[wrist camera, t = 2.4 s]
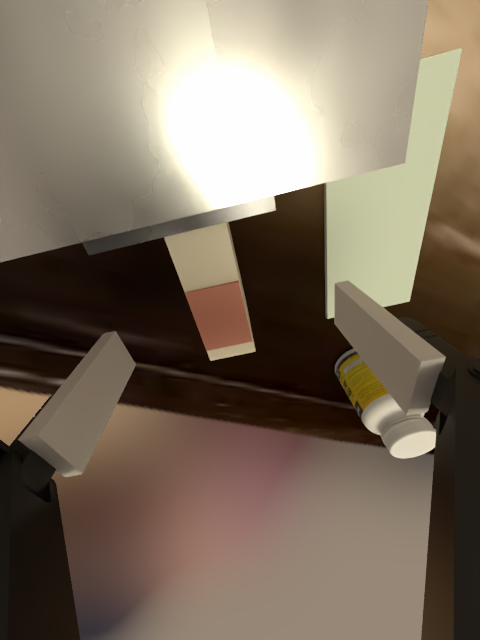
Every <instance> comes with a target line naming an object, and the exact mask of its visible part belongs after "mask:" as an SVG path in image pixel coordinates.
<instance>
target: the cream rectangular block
mask: <svg viewBox="0 0 480 640" xmlns="http://www.w3.org/2000/svg"><path fill="white" fill-rule="evenodd" d="M164 239H165V242H166V244H167V247H168V249H169V252H170V255H171V257H172V260H173V263H174V265H175V268H176V271H177V273H178V276H179V279H180V281H181V284H182V287H183V289H184V292H185V295H186V298H187V300H188V303H189V306H190V308H191V311H192V314H193V316H194V319H195V322H196V324H197V327H198V329H199V332H200V335H201V337H202V340H203V343H204V345H205V348H206V351H207V353H208V356H209V358H210V361H212V360H217V359H222V358H226V357H231V356H236V355H241V354H246V353H251V352H255V345H254V340H253V335H252V330H251V325H250V320H249V314H248V309H247V304H246V299H245V294H244V290H243V285H242V281H241V276H240V272H239V267H238V263H237V258H236V254H235V250H234V245H233V241H232V236H231V232H230V227H229V223H228V222H225V223H221V224H217V225H213V226H208V227H204V228H200V229H196V230H192V231H188V232H183V233H179V234H175V235H171V236H167V237H164Z"/></svg>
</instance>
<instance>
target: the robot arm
mask: <svg viewBox="0 0 480 640" xmlns="http://www.w3.org/2000/svg"><path fill="white" fill-rule="evenodd" d="M335 325H336V326H337V327H338V329H339V330H340V331H341V332H342V334H343V335H344V336H345V338H346V339H347V340H348V341H349V343H350V344H351V345H352V347H353V348H354V349H355V350H356V352H357V353H358V354H359V355H360V357H361V358H362V359H363V361H364V362H365V363H366V364H367V366H368V367H369V368H370V370H371V371H372V372H373V373H374V375H375V376H376V377H377V378H378V380H379V381H380V382H381V384H382V385H383V386H384V387H385V389H386V390H387V391H388V393H389V394H390V395H391V396H392V398H393V399H394V400H395V401H396V403H397V404H398V405H399V407H400V408H401V409H402V410H403V412H404V413H405V414H406V416H408V415H414V414H419V413H425V412H428V409H429V406H430V403H431V402H432V403H433V404H434V405H435V406H436V407H437V408H438V409H439V413H438V415H437V418H436V421H435V423H434V426H433V428H434V429H436V442H435V456H434V471H433V485H432V498H431V512H430V526H429V540H428V553H427V568H426V582H425V595H424V597H425V598H424V610H423V624H422V637H421V640H480V359H477V358H468V357H467V356H465V355H464V354H463V353H461V352H460V351H458V350H457V349H456V348H454V347H453V346H451V345H450V344H449V343H447V342H446V341H445V340H443V339H442V338H440V337H439V336H436V334H435V333H433V332H432V331H431V330H428V328H426V327H425V326H424V325H422V324H421V323H419V322H417V321H415V320H412V319H410V318H407V317H403V318H398V319H397V318H396V317H394V316H393V315H392V314H390V313H389V312H388V311H387V310H385V309H384V308H383V307H382V306H380V305H379V304H378V303H376V302H375V301H374V300H373V299H371V298H370V297H369V296H368V295H366V294H365V293H364V292H362V291H361V290H360V289H359V288H357V287H356V286H355V285H354V284H352V283H351V282H350V281H348V280H347V281H343V282H338V283H335ZM135 365H136V364H135V362H134V361H133V359H132V357H131V356H130V354H129V352H128V351H127V349H126V347H125V346H124V344H123V342H122V341H121V339H120V338H119V336H118V334H117V333H116V331H113V332H108V333H104V334H103V335H102V336H101V337H100V339H99V340H98V341H97V342H96V343H95V345H94V346H93V347H92V348H91V350H90V351H89V352H88V353H87V355H86V356H85V357H84V358H83V360H82V361H81V362H80V363H79V365H78V366H77V367H76V368H75V369H74V371H73V372H72V373H71V374H70V376H69V377H68V378H67V379H66V381H65V382H64V383H63V384H62V386H61V387H60V388H59V389H58V391H56V392H55V393H54V394H53V395H52V396H51V397H49V399H48V400H47V401H46V402H45V403H44V405H43V406H42V409H40V410H39V411H38V412H37V413H36V414H35V417H33V418H32V419H31V420H30V422H29V423H28V424H27V425H26V427H25V428H24V429H23V430H22V431H21V433H20V434H19V435H18V436H17V438H16V439H15V440H14V441H13V443H12V444H11V445H10V446H8V445H7V444H5V443H4V442H3V441H1V440H0V640H80V635H79V629H78V623H77V616H76V609H75V603H74V596H73V590H72V584H71V577H70V571H69V565H68V558H67V552H66V545H65V539H64V533H63V526H62V519H61V513H60V507H59V501H58V494H57V487H56V483H55V481H54V480H53V479H51V477H52V476H53V474H54V472H55V470H57V471H58V472H59V473H60V474H62V475H63V476H64V477H68V476H74V475H80V474H82V473H83V471H84V469H85V467H86V465H87V463H88V461H89V459H90V457H91V455H92V453H93V451H94V449H95V447H96V445H97V443H98V441H99V439H100V437H101V435H102V433H103V431H104V429H105V427H106V425H107V422H108V420H109V418H110V416H111V414H112V412H113V410H114V408H115V406H116V404H117V402H118V400H119V398H120V396H121V394H122V392H123V390H124V388H125V386H126V384H127V382H128V380H129V378H130V376H131V374H132V372H133V369H134V367H135Z"/></svg>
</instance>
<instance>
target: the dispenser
mask: <svg viewBox="0 0 480 640" xmlns="http://www.w3.org/2000/svg"><path fill="white" fill-rule="evenodd" d="M428 1H429V0H0V262H4V261H8V260H12V259H16V258H20V257H24V256H28V255H32V254H36V253H40V252H44V251H49V250H53V249H57V248H61V247H65V246H69V245H73V244H77V243H81V242H82V244H83V246H84V248H85V249H86V251H87V253H88V255H92V254H96V253H101V252H105V251H109V250H113V249H117V248H121V247H125V246H130V245H134V244H138V243H142V242H146V241H150V240H154V239H159V238H163V237H167V236H171V235H175V234H179V233H183V232H188V231H192V230H196V229H200V228H204V227H208V226H213V225H217V224H221V223H225V222H229V221H233V220H237V219H242V218H246V217H250V216H254V215H258V214H262V213H266V212H271V211H275V210H276V208H275V199H274V195H277V194H281V193H285V192H289V191H294V190H298V189H302V188H306V187H310V186H314V185H318V184H322V183H326V182H330V181H334V180H338V179H343V178H347V177H351V176H355V175H359V174H363V173H367V172H371V171H375V170H379V169H383V168H387V167H392V166H396V165H400V164H404V163H405V161H406V154H407V147H408V140H409V133H410V126H411V119H412V112H413V105H414V98H415V91H416V84H417V77H418V71H419V64H420V57H421V50H422V43H423V36H424V29H425V22H426V15H427V8H428Z"/></svg>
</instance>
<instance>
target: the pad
mask: <svg viewBox="0 0 480 640" xmlns="http://www.w3.org/2000/svg"><path fill="white" fill-rule="evenodd" d="M461 52H462V48H460V49H456V50H453V51H449V52H445V53H441V54H438V55H434V56H430V57H426V58H423V59H420V64H419V71H418V77H417V84H416V91H415V98H414V105H413V112H412V119H411V126H410V133H409V140H408V147H407V154H406V161H405V163H404V164H400V165H396V166H392V167H387V168H383V169H379V170H375V171H371V172H367V173H363V174H359V175H355V176H351V177H347V178H343V179H338V180H334V181H330V182H326V183H324V238H325V310H326V317H327V319H329V318H334V317H335V283H338V282H343V281H347V280H348V281H350V282H351V283H352V284H354V285H355V286H356V287H357V288H359V289H360V290H361V291H362V292H364V293H365V294H366V295H368V296H369V297H370V298H371V299H373V300H374V301H375V302H376V303H378V304H379V305H380V306H382V307H386V306H390V305H395V304H400V303H404V302H409V301H410V297H411V292H412V287H413V282H414V277H415V273H416V268H417V263H418V258H419V253H420V249H421V244H422V239H423V234H424V229H425V225H426V220H427V215H428V210H429V205H430V201H431V196H432V191H433V186H434V181H435V177H436V172H437V167H438V162H439V157H440V153H441V148H442V143H443V138H444V133H445V128H446V124H447V119H448V114H449V109H450V104H451V100H452V95H453V90H454V85H455V80H456V76H457V71H458V66H459V61H460V56H461Z"/></svg>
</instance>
